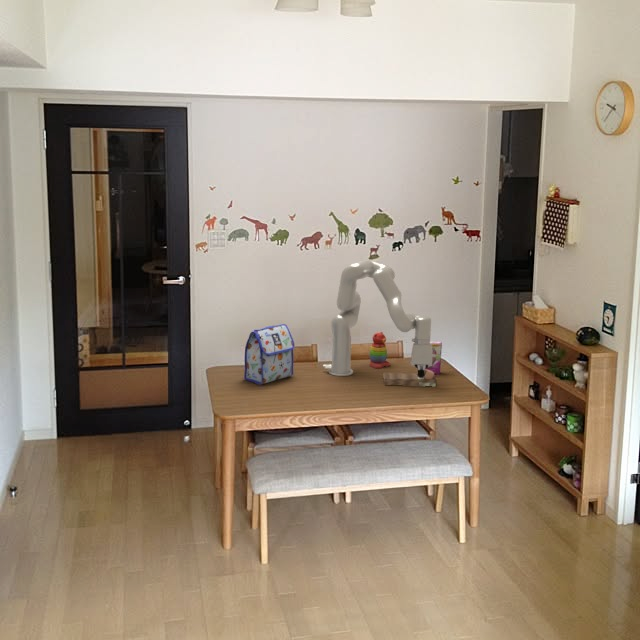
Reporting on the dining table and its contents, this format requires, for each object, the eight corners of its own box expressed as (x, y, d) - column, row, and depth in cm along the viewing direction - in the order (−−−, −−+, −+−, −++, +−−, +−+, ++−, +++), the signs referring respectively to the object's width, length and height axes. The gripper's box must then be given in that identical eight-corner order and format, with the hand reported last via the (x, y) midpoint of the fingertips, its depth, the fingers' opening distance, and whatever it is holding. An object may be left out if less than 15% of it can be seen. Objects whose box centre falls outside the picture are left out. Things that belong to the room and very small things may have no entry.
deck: (384, 385, 419) (384, 378, 418) (383, 376, 434) (383, 370, 433) (435, 386, 419) (435, 379, 418) (432, 377, 433) (432, 371, 433)
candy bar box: (418, 373, 440) (420, 343, 437) (418, 371, 445) (419, 340, 441) (440, 374, 439) (442, 344, 435) (440, 372, 444) (441, 341, 440)
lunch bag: (264, 387, 413) (264, 333, 407) (241, 379, 424) (241, 327, 418) (297, 377, 430) (298, 326, 424) (274, 371, 441) (274, 320, 434)
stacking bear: (378, 369, 447) (379, 336, 443) (364, 365, 454) (365, 332, 450) (392, 365, 454) (393, 333, 450) (378, 361, 461) (379, 329, 457)
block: (423, 378, 421) (426, 371, 420) (421, 376, 425) (424, 368, 424) (431, 381, 422) (434, 373, 421) (428, 378, 426) (431, 371, 425)
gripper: (407, 342, 414) (406, 379, 418) (438, 343, 414) (436, 379, 418) (406, 339, 422) (405, 374, 426) (436, 339, 421) (435, 375, 425)
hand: (420, 377), depth 422 cm, fingers closed
